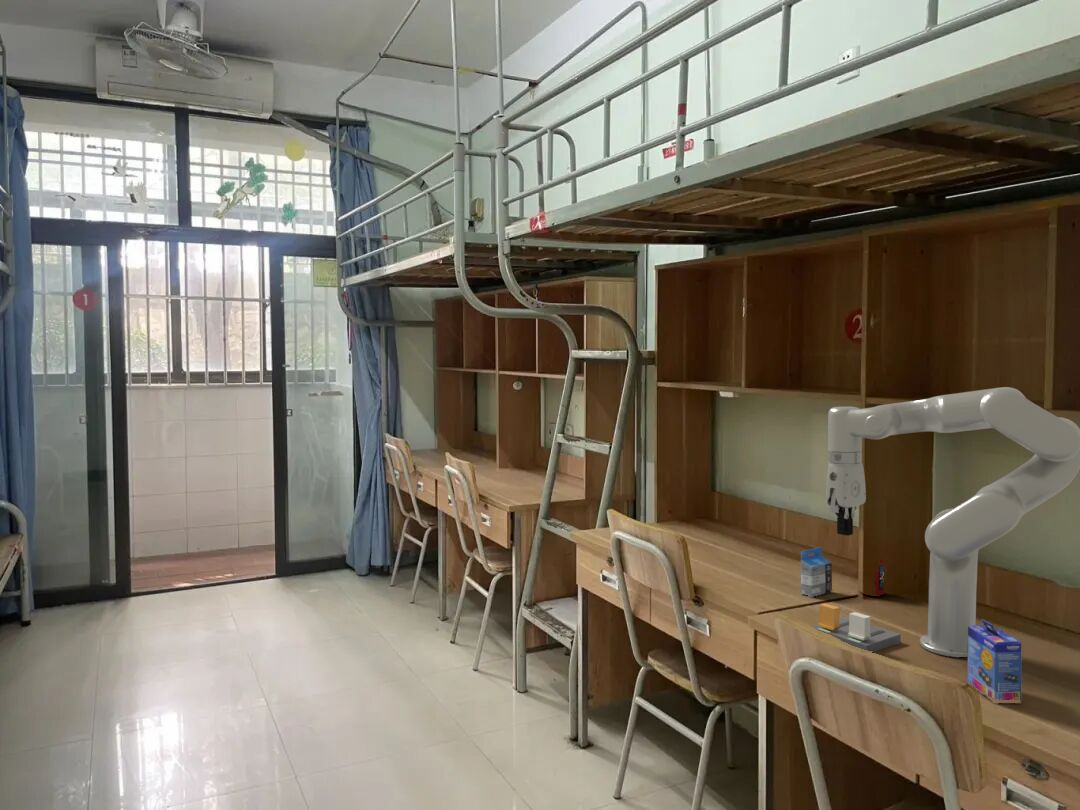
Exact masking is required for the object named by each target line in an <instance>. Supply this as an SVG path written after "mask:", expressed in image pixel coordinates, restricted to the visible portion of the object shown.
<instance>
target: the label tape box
mask: <svg viewBox="0 0 1080 810" xmlns="http://www.w3.org/2000/svg"><path fill="white" fill-rule="evenodd" d="M822 549H823V547H822V546H820V547H814V548H811V549H806V550H802V551H801V553H800V584H801V588H800V589H801V593H802V594H805V595H808V596H811V597H810V598H815V597H814V596H816V597H818V595H819V596H822V595H821V594H823V595H825V593H826V594H829V592H830V593H832V592H833V569H832V567H833V565H832V564H833V563H832V562H830V561H829V560H828V559H827V558H825V557H824V556H822V552H823V551H822ZM811 553H813V554H811ZM809 554H810V555H809ZM802 594H801V595H802ZM808 596H807V597H808Z"/></svg>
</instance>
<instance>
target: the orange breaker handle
mask: <svg viewBox="0 0 1080 810" xmlns="http://www.w3.org/2000/svg"><path fill="white" fill-rule="evenodd" d="M839 618H840V607H839V606H835V605H832V604H829V603H825V602H824V603H821V604H819V621H818V622H819V623H817V625H818V626H821V627H824V628H827V629H830V630H836V629H839V628H840V626H839Z"/></svg>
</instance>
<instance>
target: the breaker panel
mask: <svg viewBox="0 0 1080 810" xmlns="http://www.w3.org/2000/svg"><path fill="white" fill-rule="evenodd" d="M839 626H840V628H839V629H836V630H830V629H827V628H824V627H821V626H818V624H816V625H811V627H813V628H815V629H817V630H819V631H822V632H824V633H827V634H830V635H832V636H834V637H836V638H838V639H840V640H841V641H843V642H846V643H848V644H850V645H852V646H855V647H858V648H861V649H864V650H868V651H873V652H872V653H874V652H878V651H881V650H884V649H887V648H890V647H892V646H895V645H898V644H900V643H901V639H902V638H901V635H902V634H901V633H898V632H896V631H893V630H888V629H885V628H883V627H878V626H875V625H872V624H870V636H871V638H870V639H867V640H864V641H863V640H860V639H857V638H854V637H851V636H848V633H849V617H846V616H843V617H842V616H841V617H839Z"/></svg>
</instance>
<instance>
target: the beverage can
mask: <svg viewBox="0 0 1080 810" xmlns="http://www.w3.org/2000/svg"><path fill="white" fill-rule="evenodd" d="M882 562H884V559H881V560H880V563H882ZM880 566H881V565H880ZM883 568H884V567H883V566H881V569H880V567H879V570H880V571H879V570H878V572H877V573H876V575H875V576H877V577H876V581H875V582H874V583H875V584H874V585H876V586H875V587H876V595H881V596H882V595H884V594H885V590H884V589H883V588H884V584H883V583H884V578H883V576H884V572H883V570H882V569H883ZM877 574H878V575H877Z"/></svg>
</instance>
